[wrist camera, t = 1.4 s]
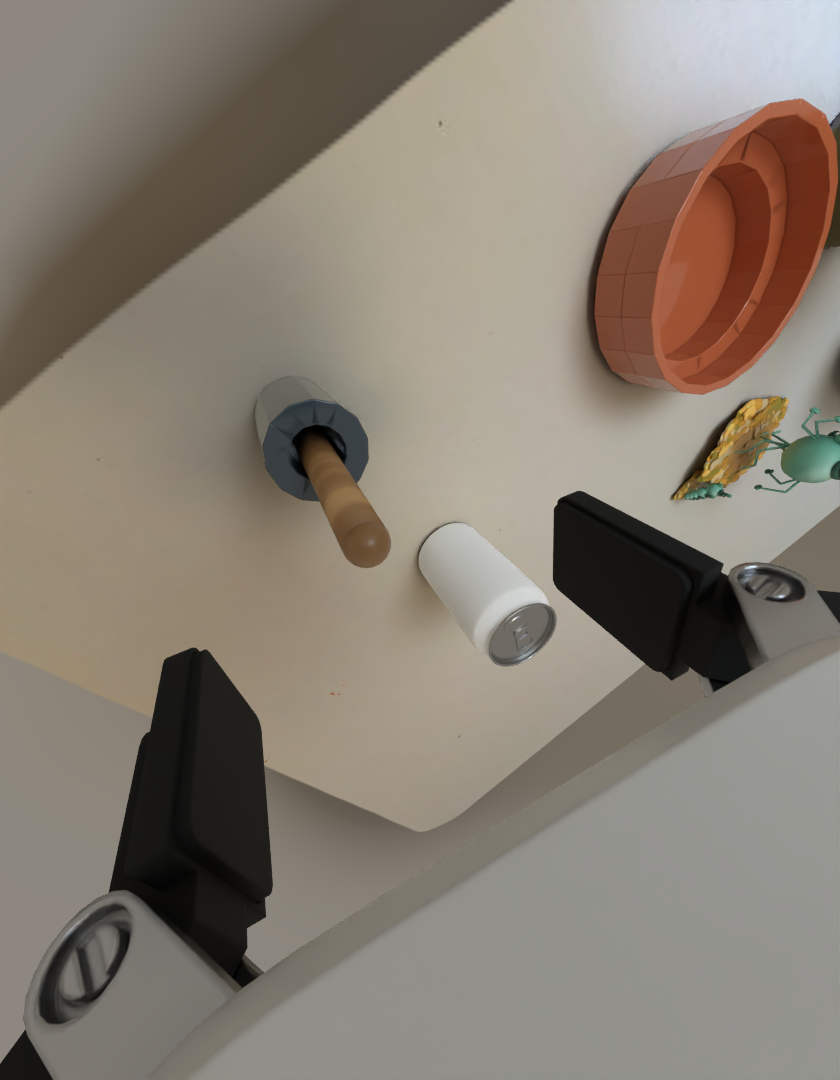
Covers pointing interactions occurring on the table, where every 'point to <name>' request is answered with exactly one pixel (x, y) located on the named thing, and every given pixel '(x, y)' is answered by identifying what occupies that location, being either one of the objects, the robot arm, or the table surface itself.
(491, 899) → the robot arm
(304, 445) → the stick
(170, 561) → the table surface
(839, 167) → the canister
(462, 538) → the can
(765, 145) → the bowl
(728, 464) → the insect on leaf figurine
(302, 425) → the utensil pot
